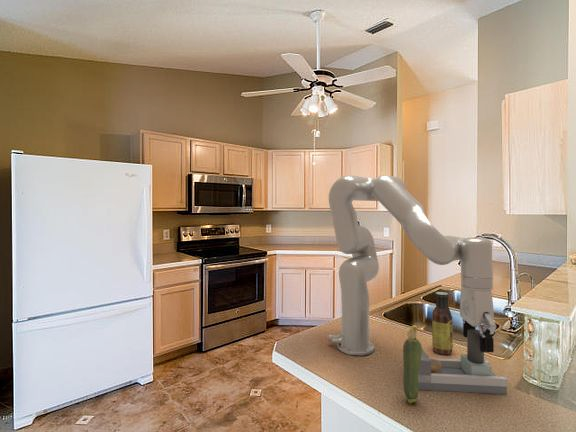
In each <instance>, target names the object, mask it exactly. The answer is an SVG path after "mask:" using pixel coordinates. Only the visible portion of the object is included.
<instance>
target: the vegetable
mask: <svg viewBox="0 0 576 432" xmlns="http://www.w3.org/2000/svg"><path fill="white" fill-rule="evenodd" d="M417 332H419V329H418V325H417V324H413V325H411V326H410V328H409V329H408V331H407V336H408V338H406V339H405V341H404V343H403V346H402V347H403V348H402V350H403V351H402V353H403V356H402V357H403V382H402V385H403V392H404V396H405V397H406V399H407V402H408V403H409V405H412V404H411V403H416V402H417V400H418V397H419V390H418V387H419V377H418V375H419V367H420V362H421V356H422V349H423V347H422V343H421V342H420V341H419V339H418V338H417Z"/></svg>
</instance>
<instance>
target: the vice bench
mask: <svg viewBox="0 0 576 432" xmlns="http://www.w3.org/2000/svg"><path fill="white" fill-rule="evenodd" d="M430 359H435V360H438V361H440V362H441V374H436V373H431V360H430ZM485 361H486V362H487V363H488V364H489V365H490V362H489V361H488V360H485ZM418 377H419V387H418V391H419V390H421V391H440V392H456V393H458V392H459V393H477V394H495V395H496V394H498V395H507V394H508V393H507V392H508V378H506V377H505V376H497V375H495V374H494V373H493V372H492V371H491V376H479V375H466V373H465V372H464V371H463V370H462V369H461V358H460V359H459V358H458V359H455V358H436V357H435V358H432V357H431V358H430V357H429V356H428V354H427V353H426V351H425V350H424V349H423V348H422V356H421V362H420V367H419V375H418Z"/></svg>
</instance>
